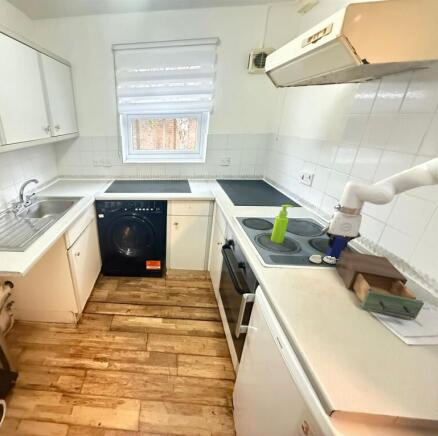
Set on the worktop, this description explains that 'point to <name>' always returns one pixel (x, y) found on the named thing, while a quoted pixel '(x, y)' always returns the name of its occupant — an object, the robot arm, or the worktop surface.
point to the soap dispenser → (280, 225)
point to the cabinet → (365, 267)
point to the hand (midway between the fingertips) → (336, 246)
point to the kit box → (336, 246)
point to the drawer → (386, 296)
